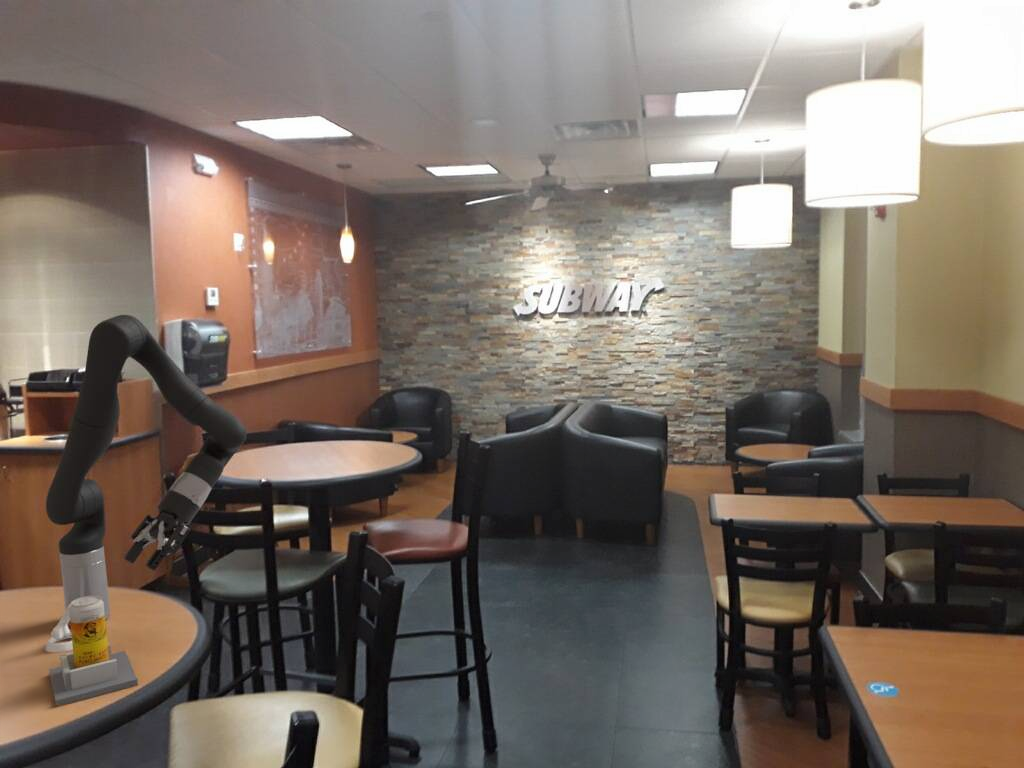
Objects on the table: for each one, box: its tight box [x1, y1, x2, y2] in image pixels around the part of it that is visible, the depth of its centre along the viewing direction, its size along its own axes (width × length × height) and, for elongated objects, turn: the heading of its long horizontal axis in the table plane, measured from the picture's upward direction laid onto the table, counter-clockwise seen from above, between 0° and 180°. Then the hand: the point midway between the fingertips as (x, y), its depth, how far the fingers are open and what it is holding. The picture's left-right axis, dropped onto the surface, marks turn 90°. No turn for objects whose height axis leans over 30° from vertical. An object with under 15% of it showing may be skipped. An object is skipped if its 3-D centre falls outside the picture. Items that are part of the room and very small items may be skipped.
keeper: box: [48, 643, 139, 708], centre depth 163 cm, size 16×14×5 cm
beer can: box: [69, 596, 109, 669], centre depth 162 cm, size 6×6×15 cm
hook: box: [44, 604, 73, 653], centre depth 180 cm, size 8×12×7 cm
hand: (138, 564), depth 170 cm, fingers open, 8 cm apart
